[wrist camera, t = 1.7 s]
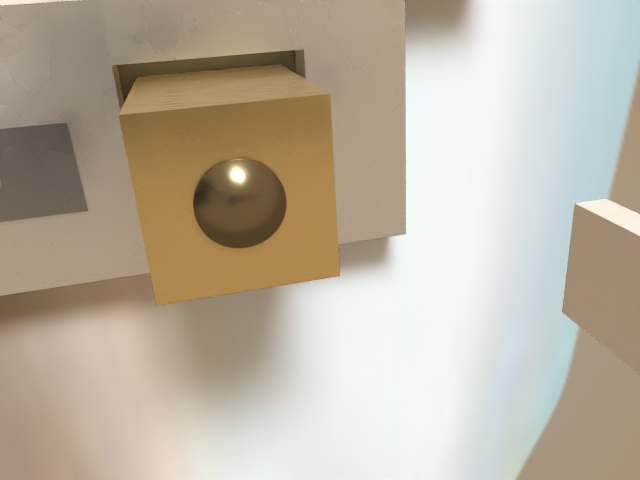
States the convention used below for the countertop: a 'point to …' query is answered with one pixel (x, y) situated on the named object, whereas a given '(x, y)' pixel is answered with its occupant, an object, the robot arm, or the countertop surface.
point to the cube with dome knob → (232, 180)
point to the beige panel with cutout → (107, 101)
